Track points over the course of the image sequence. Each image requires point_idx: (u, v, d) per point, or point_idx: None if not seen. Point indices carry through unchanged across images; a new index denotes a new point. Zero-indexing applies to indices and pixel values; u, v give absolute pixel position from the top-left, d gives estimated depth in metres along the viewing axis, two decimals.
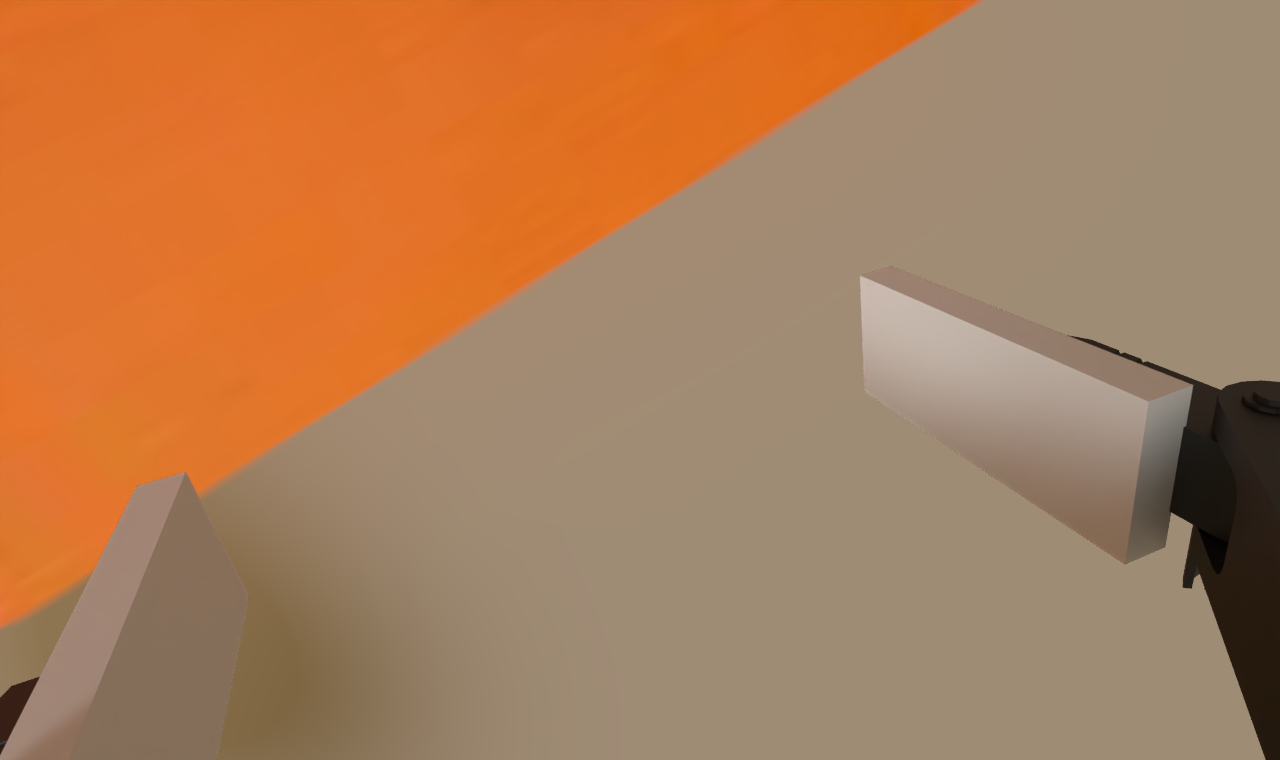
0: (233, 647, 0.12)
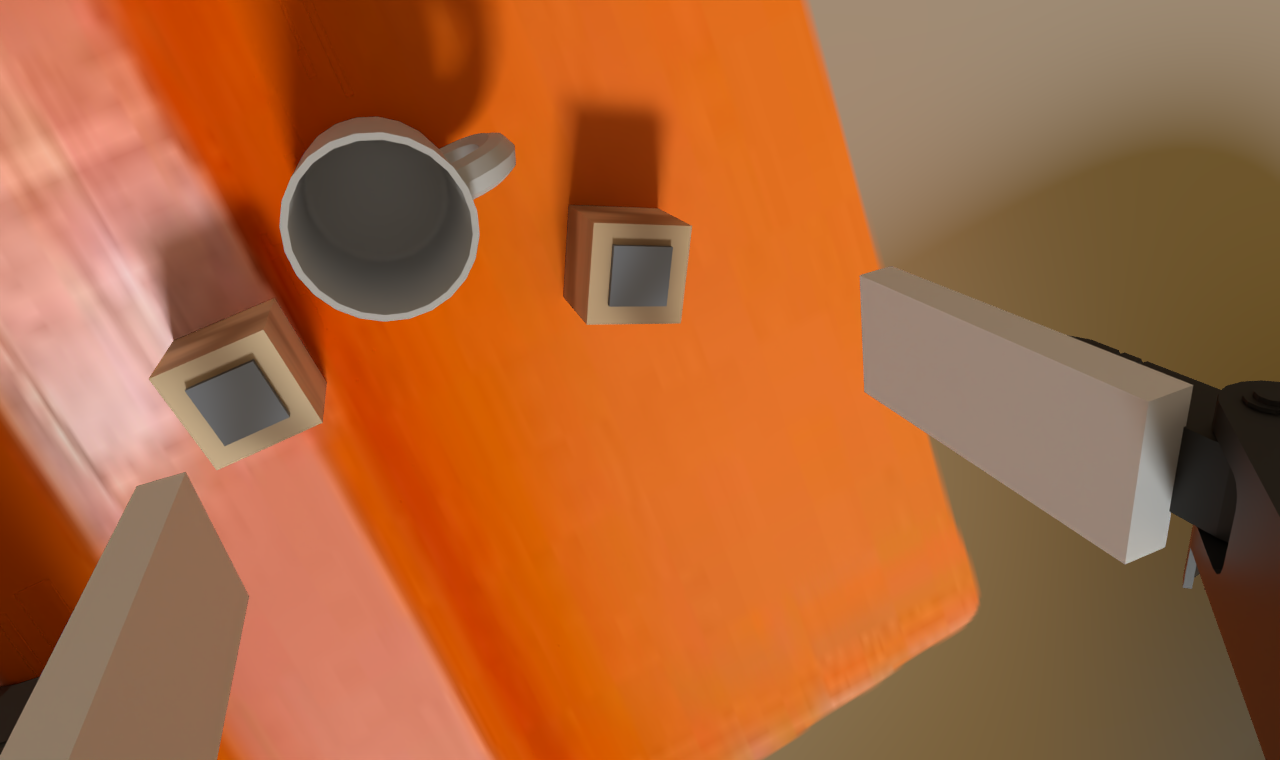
0: (233, 647, 0.12)
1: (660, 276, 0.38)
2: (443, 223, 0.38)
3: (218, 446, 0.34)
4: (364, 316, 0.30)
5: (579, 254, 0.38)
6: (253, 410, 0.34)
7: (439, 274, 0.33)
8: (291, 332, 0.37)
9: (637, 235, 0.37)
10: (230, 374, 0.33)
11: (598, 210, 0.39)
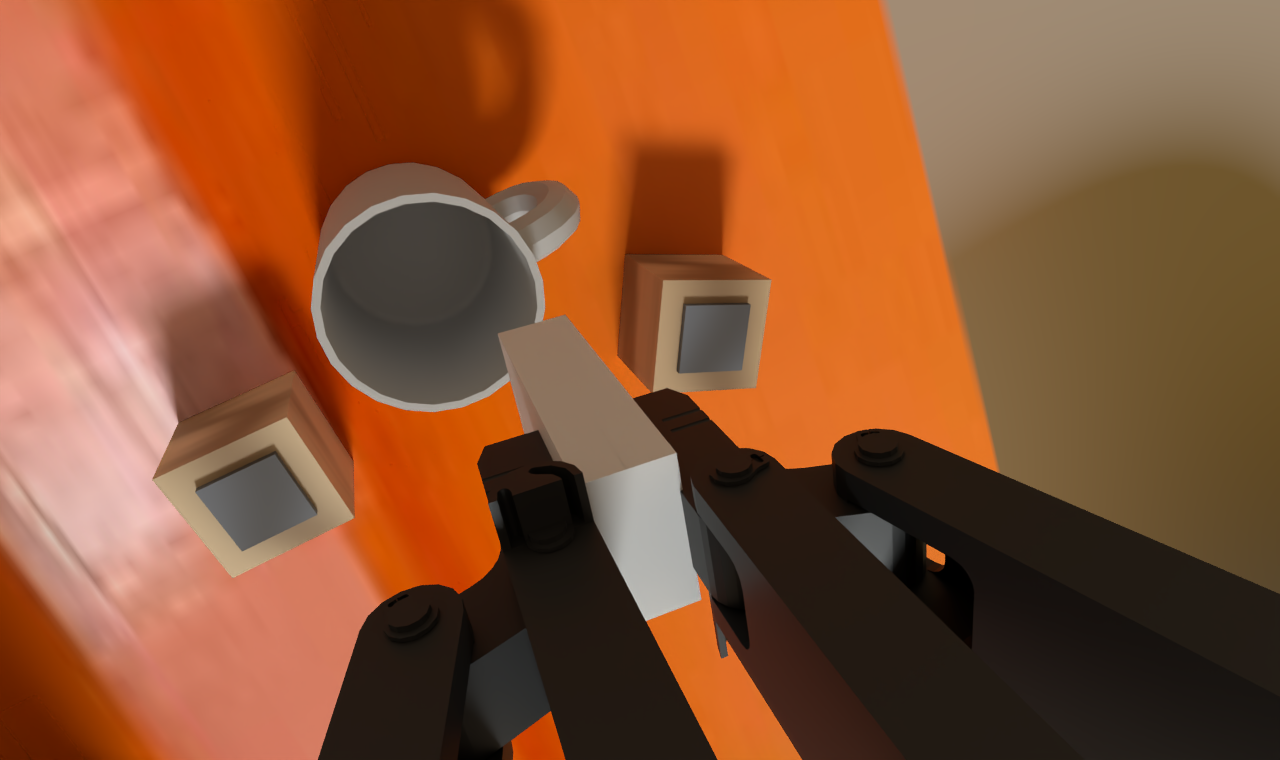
0: None
1: (736, 337, 0.33)
2: (486, 280, 0.33)
3: (234, 551, 0.29)
4: (410, 407, 0.25)
5: (641, 311, 0.34)
6: (275, 509, 0.29)
7: (491, 347, 0.29)
8: (314, 409, 0.32)
9: (711, 293, 0.32)
10: (248, 470, 0.28)
11: (660, 261, 0.35)
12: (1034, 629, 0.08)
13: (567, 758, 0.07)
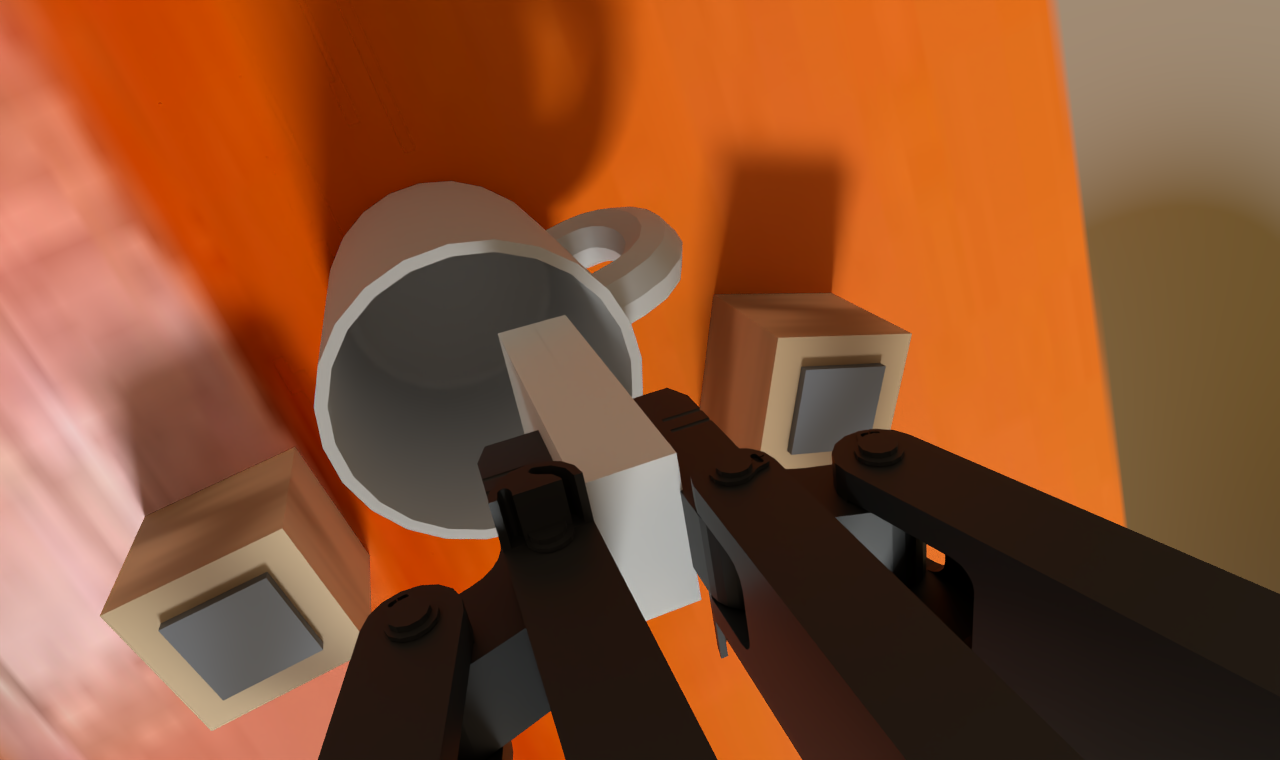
0: None
1: (864, 408, 0.25)
2: None
3: (213, 698, 0.22)
4: (453, 535, 0.18)
5: (739, 371, 0.26)
6: (267, 646, 0.22)
7: None
8: (320, 497, 0.25)
9: (836, 352, 0.25)
10: (231, 599, 0.21)
11: (761, 305, 0.27)
12: (1034, 629, 0.08)
13: (567, 758, 0.07)
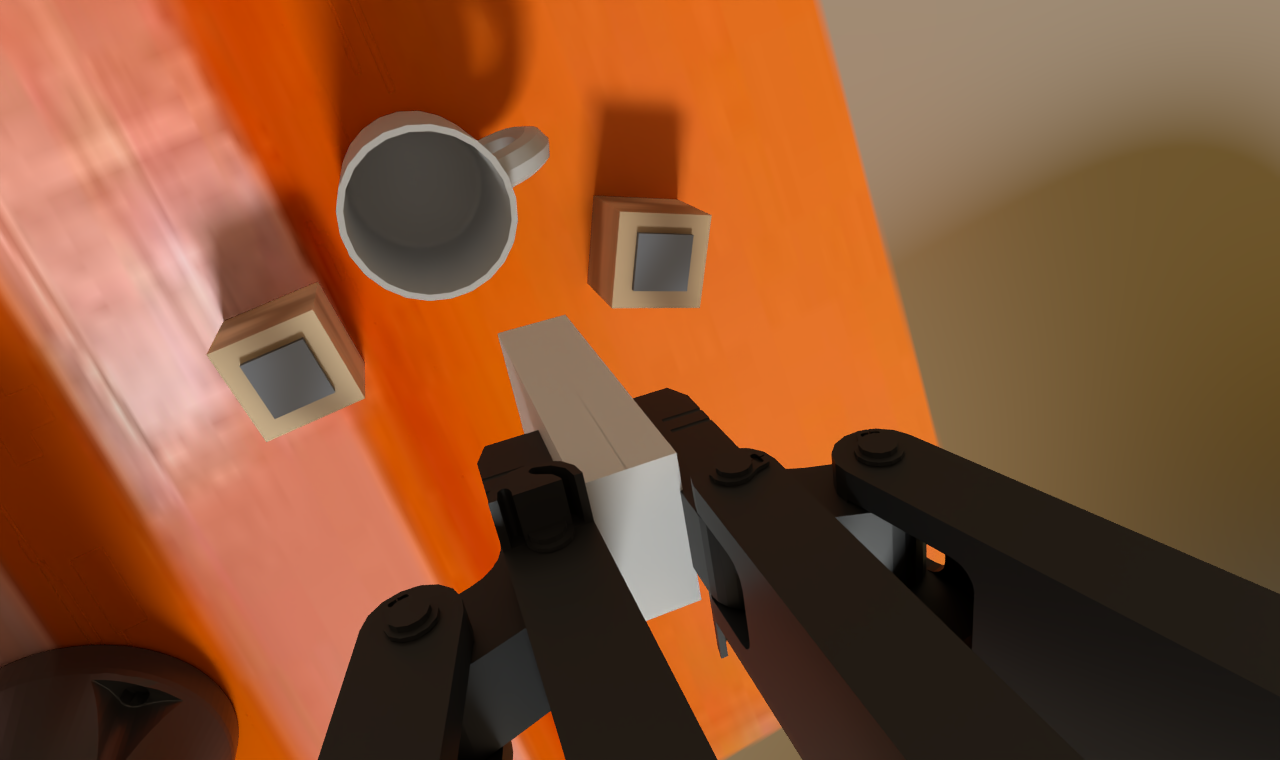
0: None
1: (681, 262, 0.40)
2: (476, 212, 0.40)
3: (268, 419, 0.36)
4: (410, 295, 0.32)
5: (604, 241, 0.41)
6: (302, 385, 0.36)
7: (477, 258, 0.36)
8: (333, 314, 0.40)
9: (660, 224, 0.39)
10: (281, 351, 0.35)
11: (622, 200, 0.41)
12: (1034, 629, 0.08)
13: (567, 757, 0.07)
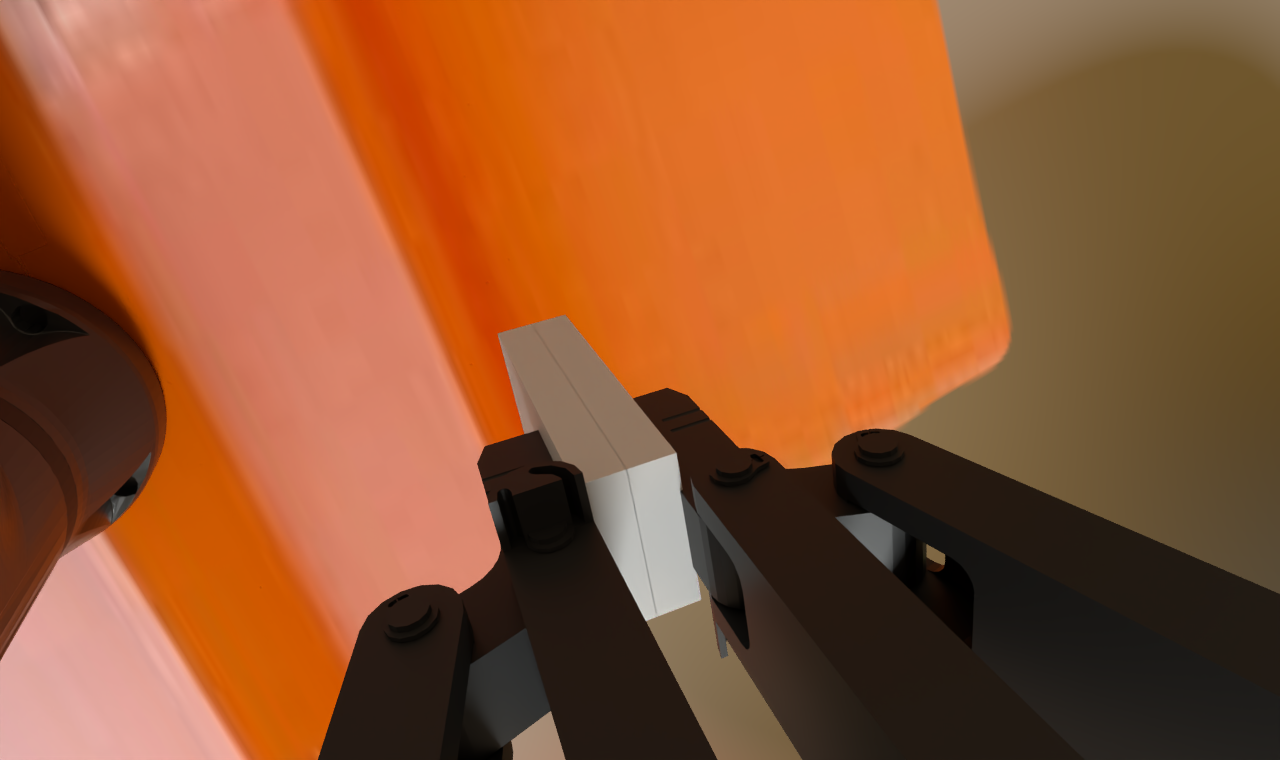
0: None
1: None
2: None
3: None
4: None
5: None
6: None
7: None
8: None
9: None
10: None
11: None
12: (1034, 629, 0.08)
13: (567, 758, 0.07)
